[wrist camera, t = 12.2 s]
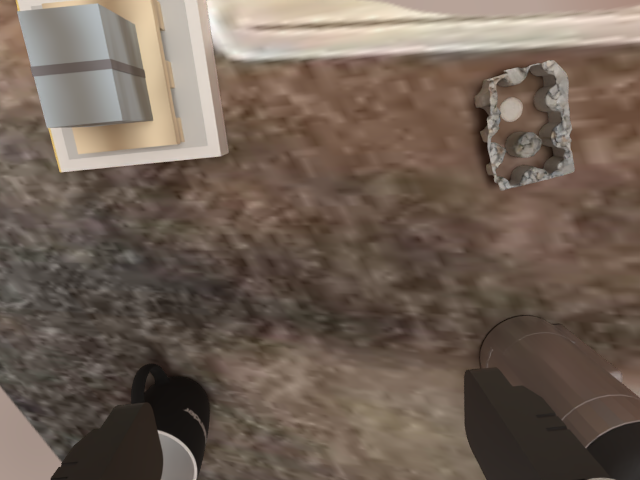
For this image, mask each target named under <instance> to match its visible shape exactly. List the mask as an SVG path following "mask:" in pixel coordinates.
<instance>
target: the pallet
mask: <svg viewBox="0 0 640 480" xmlns="http://www.w3.org/2000/svg"><path fill="white" fill-rule="evenodd" d="M42 8H43V9H36V10H26V11H17V13H18V17H19V21H20V25H21V29H22V33H23V37H24V40H25V44H26V48H27V52H28V56H29V60H30V64H31V71H32V75H33V77H34V79H35V83H36V87H37V91H38V94H39V98H40V102H41V106H42V110H43V114H44V118H45V122H46V125H47V128H68V127H72V131H73V135H74V139H75V143H76V147H77V151H78V154H86V153H96V152H106V151H116V150H126V149H136V148H146V147H155V146H165V145H175V144H180V142H185V140H184V135H183V129H182V123H181V118H176V116H175V111H174V105H173V100H172V94H171V89H170V88H175V84H174V78H173V73H172V67H171V62H169V61H166V60H165V55H164V50H163V44H162V39H161V33H160V31H165V27H164V22H163V16H162V10H161V5H160V3H159V2H158V1H157V0H74V1H64V2H54V3H43V4H42Z"/></svg>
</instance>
